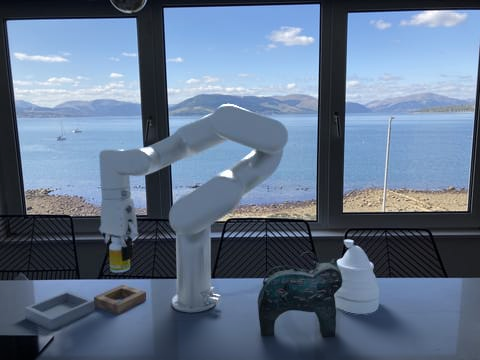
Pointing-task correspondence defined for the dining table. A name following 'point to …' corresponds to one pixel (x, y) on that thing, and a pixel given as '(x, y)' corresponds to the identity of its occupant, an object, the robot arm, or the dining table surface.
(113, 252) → the supplement bottle
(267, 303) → the green animal figurine
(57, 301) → the tray
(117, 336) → the dining table surface
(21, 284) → the dining table surface
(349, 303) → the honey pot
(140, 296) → the socket block
